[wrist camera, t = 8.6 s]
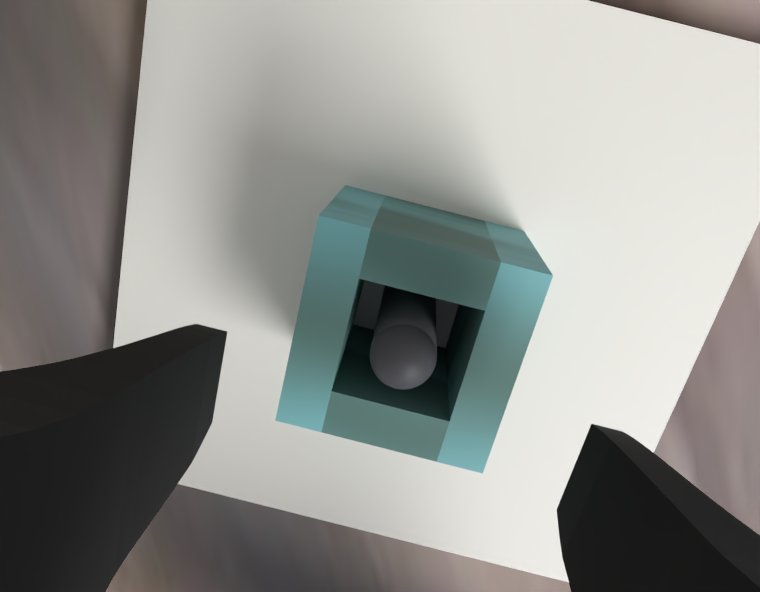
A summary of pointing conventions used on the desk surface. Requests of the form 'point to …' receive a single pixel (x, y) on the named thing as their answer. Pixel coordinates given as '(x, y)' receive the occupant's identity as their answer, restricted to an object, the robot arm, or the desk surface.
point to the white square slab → (449, 193)
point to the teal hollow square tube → (454, 363)
